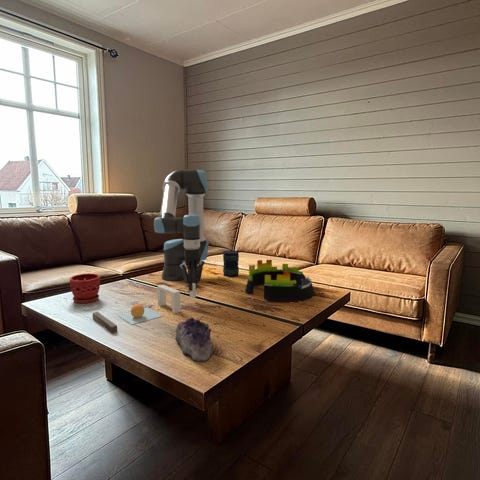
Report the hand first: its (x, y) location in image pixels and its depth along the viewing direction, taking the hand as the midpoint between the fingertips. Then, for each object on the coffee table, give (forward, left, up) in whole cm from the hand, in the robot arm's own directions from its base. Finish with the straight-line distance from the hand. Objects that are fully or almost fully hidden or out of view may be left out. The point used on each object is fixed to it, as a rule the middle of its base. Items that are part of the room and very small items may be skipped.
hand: (192, 296), depth 163 cm
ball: (+29, +1, 0) cm, 29 cm away
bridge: (+13, 0, -3) cm, 13 cm away
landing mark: (+27, 0, -3) cm, 27 cm away
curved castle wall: (-44, +16, -3) cm, 47 cm away
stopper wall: (+42, 0, -3) cm, 42 cm away
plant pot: (+37, -36, -3) cm, 52 cm away
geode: (+27, +41, -3) cm, 49 cm away
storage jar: (-48, -28, -3) cm, 55 cm away
